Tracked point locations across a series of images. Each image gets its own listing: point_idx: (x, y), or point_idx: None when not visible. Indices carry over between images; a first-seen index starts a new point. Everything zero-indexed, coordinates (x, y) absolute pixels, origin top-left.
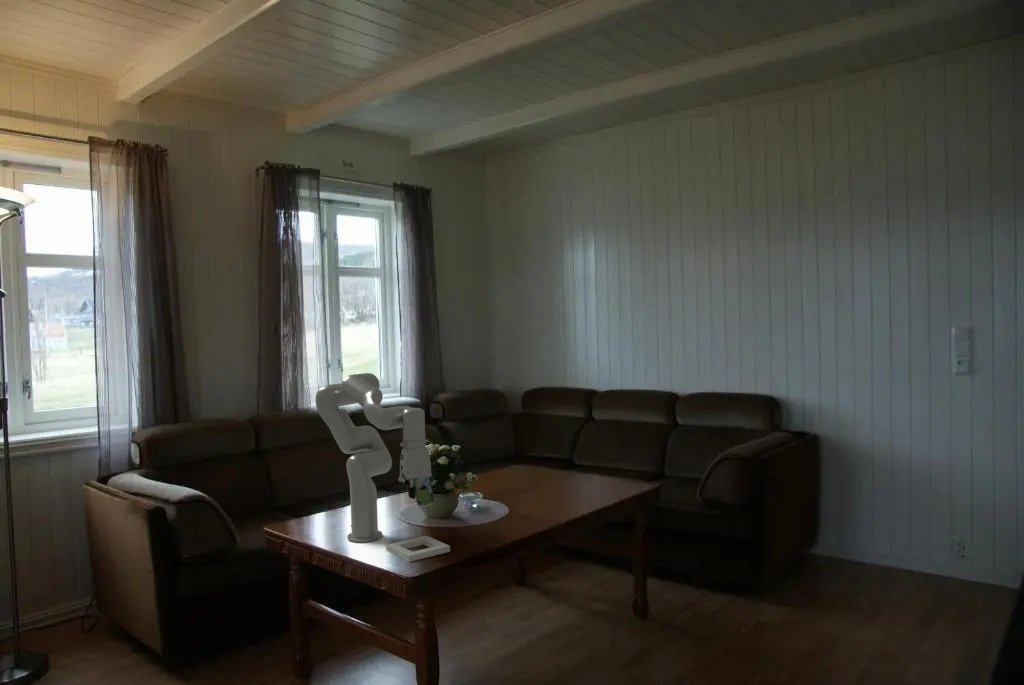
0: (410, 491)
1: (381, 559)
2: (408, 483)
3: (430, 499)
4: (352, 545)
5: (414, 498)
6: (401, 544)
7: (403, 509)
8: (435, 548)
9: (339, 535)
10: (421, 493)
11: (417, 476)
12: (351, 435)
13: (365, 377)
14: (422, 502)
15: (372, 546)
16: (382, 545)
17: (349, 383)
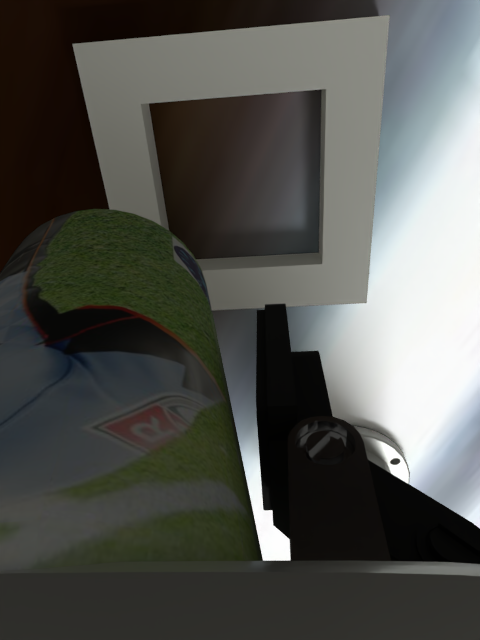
0: (323, 388)
1: (460, 176)
2: (394, 510)
3: (58, 228)
4: (427, 426)
5: (267, 305)
6: (300, 264)
7: None
8: (174, 54)
9: None
10: (163, 297)
11: (197, 605)
12: None
13: None
14: (173, 247)
15: (374, 373)
16: (334, 360)
17: None
